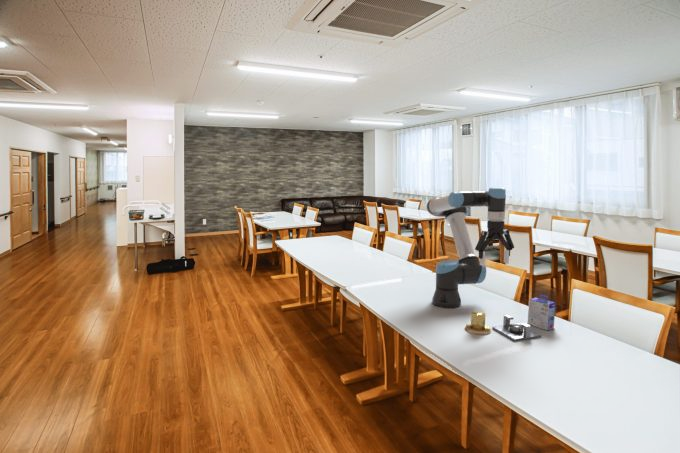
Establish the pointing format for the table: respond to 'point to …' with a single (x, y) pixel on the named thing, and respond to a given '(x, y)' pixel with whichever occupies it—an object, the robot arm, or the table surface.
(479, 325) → the bell
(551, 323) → the ink cartridge box
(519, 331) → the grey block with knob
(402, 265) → the table surface
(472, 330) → the coaster
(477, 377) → the table surface
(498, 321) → the table surface
